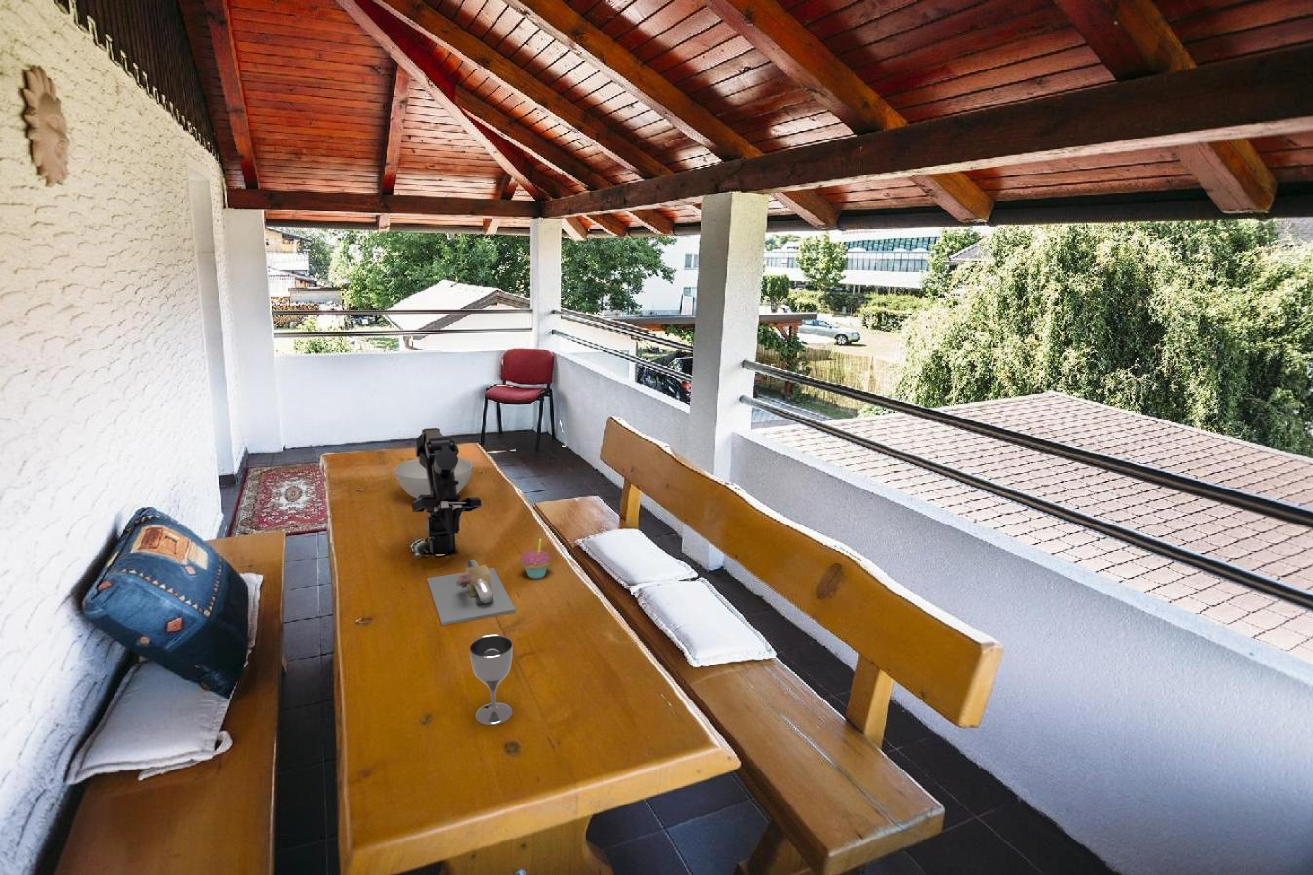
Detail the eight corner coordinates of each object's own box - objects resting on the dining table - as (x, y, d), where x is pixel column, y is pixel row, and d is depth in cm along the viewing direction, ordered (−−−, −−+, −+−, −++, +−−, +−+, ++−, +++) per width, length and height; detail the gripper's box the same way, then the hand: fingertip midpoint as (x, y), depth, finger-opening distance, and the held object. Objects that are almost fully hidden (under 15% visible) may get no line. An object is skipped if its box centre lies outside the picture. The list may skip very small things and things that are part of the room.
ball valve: (460, 577, 198) (459, 557, 196) (481, 574, 200) (480, 554, 199) (475, 610, 180) (473, 588, 179) (497, 606, 182) (496, 584, 181)
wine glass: (476, 701, 146) (473, 635, 142) (516, 700, 146) (514, 634, 143) (470, 727, 138) (466, 657, 134) (512, 725, 139) (509, 656, 135)
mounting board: (427, 580, 197) (427, 578, 197) (493, 570, 204) (493, 567, 204) (441, 625, 174) (441, 622, 174) (515, 611, 182) (515, 609, 181)
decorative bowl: (489, 496, 265) (488, 464, 262) (431, 517, 243) (429, 483, 240) (439, 482, 278) (437, 452, 275) (380, 501, 256) (377, 469, 253)
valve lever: (454, 580, 188) (460, 573, 178) (465, 578, 189) (471, 571, 179) (455, 589, 188) (461, 583, 177) (466, 587, 189) (472, 581, 179)
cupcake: (557, 572, 204) (556, 532, 201) (540, 584, 197) (539, 543, 194) (531, 566, 208) (530, 527, 205) (514, 578, 200) (512, 537, 197)
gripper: (456, 488, 212) (463, 540, 208) (398, 487, 198) (404, 543, 194) (479, 477, 205) (486, 531, 201) (420, 475, 191) (427, 533, 187)
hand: (451, 535), depth 196 cm, fingers closed
